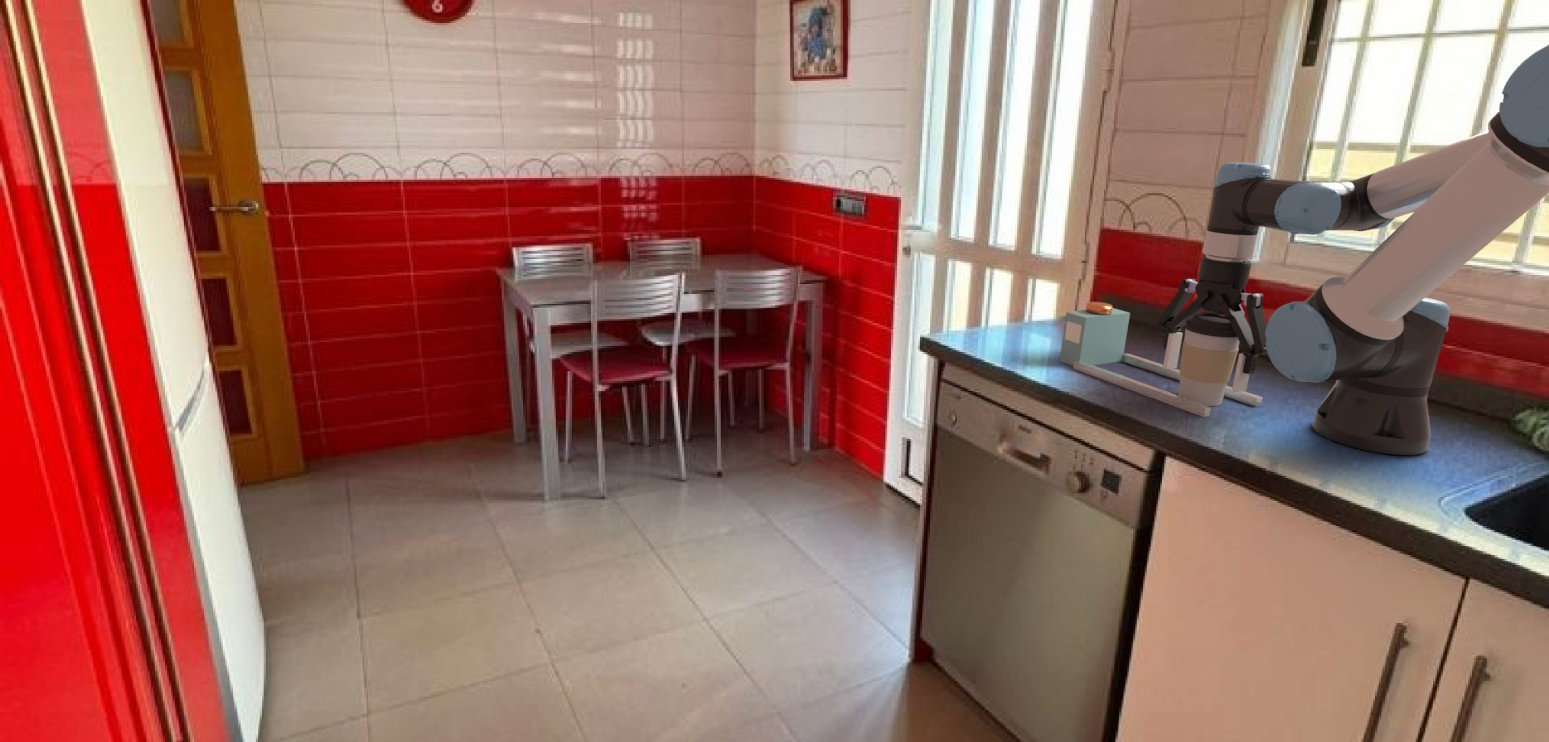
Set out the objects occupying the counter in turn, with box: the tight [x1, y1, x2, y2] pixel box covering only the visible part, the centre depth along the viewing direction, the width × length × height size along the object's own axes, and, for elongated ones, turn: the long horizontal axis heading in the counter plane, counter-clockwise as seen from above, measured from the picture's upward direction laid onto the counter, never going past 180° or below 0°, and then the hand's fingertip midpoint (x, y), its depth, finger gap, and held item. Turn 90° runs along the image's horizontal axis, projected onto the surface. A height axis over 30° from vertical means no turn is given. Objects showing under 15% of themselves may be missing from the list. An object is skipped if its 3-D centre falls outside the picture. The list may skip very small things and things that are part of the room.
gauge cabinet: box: [1059, 307, 1131, 366], centre depth 167 cm, size 5×12×10 cm, turn 117°
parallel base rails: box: [1072, 352, 1264, 418], centre depth 154 cm, size 28×15×2 cm, turn 27°
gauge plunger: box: [1085, 301, 1114, 315], centre depth 166 cm, size 5×5×6 cm
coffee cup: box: [1177, 311, 1240, 407], centre depth 145 cm, size 9×9×15 cm
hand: (1202, 379), depth 146 cm, fingers open, 13 cm apart
